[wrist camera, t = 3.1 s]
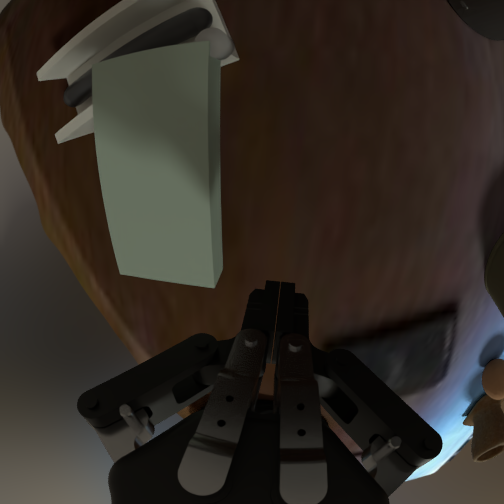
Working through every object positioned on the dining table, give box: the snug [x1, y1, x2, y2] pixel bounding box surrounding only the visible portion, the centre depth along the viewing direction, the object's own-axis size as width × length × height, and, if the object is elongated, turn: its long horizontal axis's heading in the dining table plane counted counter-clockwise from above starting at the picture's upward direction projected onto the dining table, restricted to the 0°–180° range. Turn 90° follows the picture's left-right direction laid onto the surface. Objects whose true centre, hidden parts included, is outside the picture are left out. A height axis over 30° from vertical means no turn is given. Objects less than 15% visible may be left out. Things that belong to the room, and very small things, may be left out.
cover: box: [92, 28, 235, 288], centre depth 17 cm, size 17×9×2 cm, turn 179°
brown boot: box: [463, 394, 504, 462], centre depth 32 cm, size 15×12×15 cm
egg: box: [482, 359, 504, 400], centre depth 28 cm, size 6×6×8 cm
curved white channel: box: [37, 0, 240, 144], centre depth 17 cm, size 16×8×6 cm, turn 109°
